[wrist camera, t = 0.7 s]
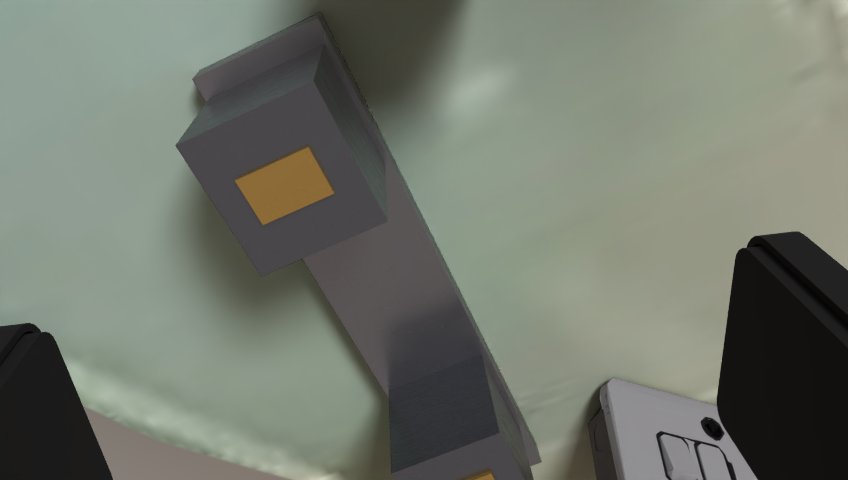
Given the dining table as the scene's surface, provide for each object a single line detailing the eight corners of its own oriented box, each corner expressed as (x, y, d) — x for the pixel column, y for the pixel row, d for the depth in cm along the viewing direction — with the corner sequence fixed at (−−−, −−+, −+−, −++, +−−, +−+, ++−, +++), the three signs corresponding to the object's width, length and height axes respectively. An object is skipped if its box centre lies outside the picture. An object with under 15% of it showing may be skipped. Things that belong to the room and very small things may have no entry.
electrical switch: (738, 408, 43) (814, 546, 35) (692, 461, 45) (753, 602, 37) (603, 370, 41) (651, 509, 33) (562, 429, 43) (599, 570, 35)
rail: (320, 12, 30) (305, 52, 23) (536, 443, 43) (567, 551, 36) (199, 70, 31) (151, 125, 24) (446, 477, 44) (460, 589, 37)
